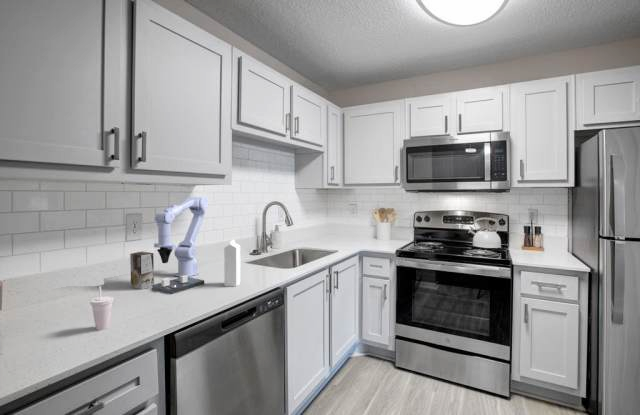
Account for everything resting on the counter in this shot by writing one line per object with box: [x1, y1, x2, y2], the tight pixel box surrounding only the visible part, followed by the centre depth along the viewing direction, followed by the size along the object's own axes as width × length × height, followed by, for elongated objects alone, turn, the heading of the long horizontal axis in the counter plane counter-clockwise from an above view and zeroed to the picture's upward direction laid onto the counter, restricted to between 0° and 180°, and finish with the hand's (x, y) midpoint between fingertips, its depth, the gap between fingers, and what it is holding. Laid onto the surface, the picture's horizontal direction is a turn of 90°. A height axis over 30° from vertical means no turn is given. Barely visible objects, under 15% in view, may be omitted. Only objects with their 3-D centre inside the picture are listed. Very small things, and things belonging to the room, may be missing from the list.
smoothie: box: [90, 285, 114, 331], centre depth 107 cm, size 6×6×14 cm
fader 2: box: [179, 275, 188, 283], centre depth 154 cm, size 3×2×3 cm, turn 150°
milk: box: [223, 239, 241, 287], centre depth 158 cm, size 6×6×22 cm
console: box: [151, 276, 205, 295], centre depth 154 cm, size 18×14×3 cm
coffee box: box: [129, 251, 155, 290], centre depth 154 cm, size 9×6×16 cm
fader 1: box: [161, 277, 171, 287], centre depth 148 cm, size 3×2×3 cm, turn 150°
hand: (165, 262), depth 161 cm, fingers closed
